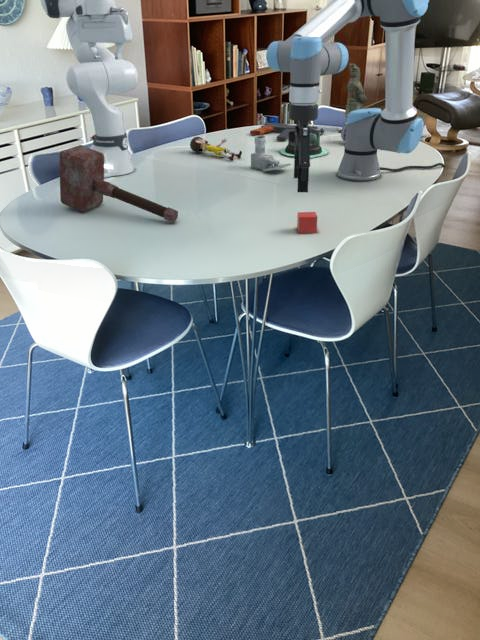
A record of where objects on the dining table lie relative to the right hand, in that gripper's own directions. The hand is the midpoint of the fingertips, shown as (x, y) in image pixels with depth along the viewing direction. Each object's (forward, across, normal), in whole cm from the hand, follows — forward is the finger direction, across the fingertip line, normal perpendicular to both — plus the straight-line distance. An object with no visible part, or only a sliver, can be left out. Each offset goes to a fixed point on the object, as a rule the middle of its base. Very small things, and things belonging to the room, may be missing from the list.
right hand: (300, 184), depth 154 cm
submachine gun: (+12, +120, -3) cm, 121 cm away
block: (+13, -2, -2) cm, 13 cm away
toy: (+12, +101, -33) cm, 107 cm away
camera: (+12, +62, +7) cm, 63 cm away
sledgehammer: (+13, +14, +54) cm, 57 cm away
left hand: (-29, +37, +58) cm, 75 cm away
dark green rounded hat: (+12, +88, -9) cm, 89 cm away
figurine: (+12, +84, +29) cm, 90 cm away
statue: (+11, +128, -37) cm, 134 cm away
